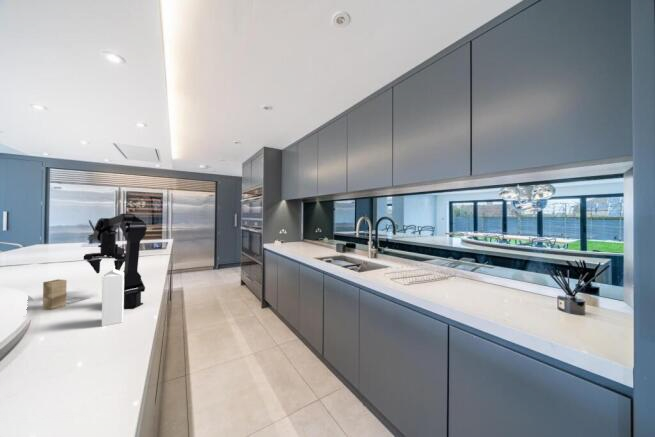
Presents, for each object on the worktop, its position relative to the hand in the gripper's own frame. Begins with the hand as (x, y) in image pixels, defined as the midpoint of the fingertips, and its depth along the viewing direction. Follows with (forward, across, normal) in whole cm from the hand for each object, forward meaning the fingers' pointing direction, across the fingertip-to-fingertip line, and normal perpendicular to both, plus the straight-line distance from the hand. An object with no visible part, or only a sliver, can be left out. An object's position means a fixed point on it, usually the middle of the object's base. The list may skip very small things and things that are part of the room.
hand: (107, 273), depth 121 cm
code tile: (+13, +13, +4) cm, 19 cm away
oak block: (+13, +12, +13) cm, 22 cm away
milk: (+13, -25, +29) cm, 41 cm away
